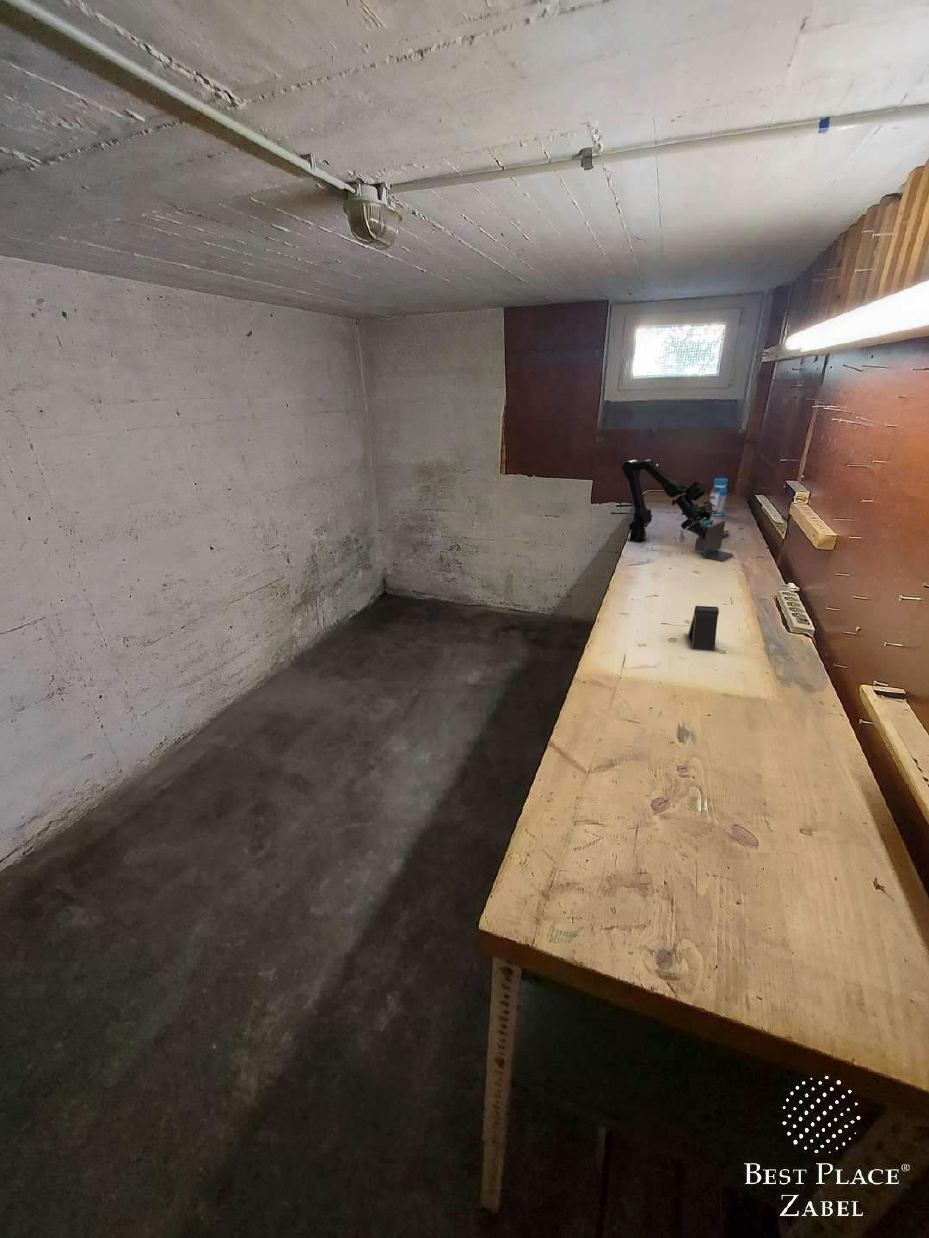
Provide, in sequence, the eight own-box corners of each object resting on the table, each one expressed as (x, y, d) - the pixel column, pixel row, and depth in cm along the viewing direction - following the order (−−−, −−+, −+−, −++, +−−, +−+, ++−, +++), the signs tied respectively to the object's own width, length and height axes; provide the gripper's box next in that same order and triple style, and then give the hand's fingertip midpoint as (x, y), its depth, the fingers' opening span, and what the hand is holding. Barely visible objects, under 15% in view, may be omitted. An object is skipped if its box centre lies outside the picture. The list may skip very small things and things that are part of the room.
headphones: (694, 550, 219) (699, 522, 214) (701, 546, 223) (706, 518, 218) (703, 552, 217) (708, 523, 211) (710, 548, 221) (715, 520, 215)
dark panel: (690, 556, 218) (696, 525, 211) (705, 549, 226) (710, 518, 219) (720, 562, 209) (726, 530, 202) (734, 555, 217) (740, 523, 210)
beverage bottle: (723, 516, 276) (730, 480, 267) (707, 515, 278) (713, 480, 270) (722, 512, 283) (728, 477, 274) (706, 512, 286) (712, 477, 277)
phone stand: (687, 635, 152) (693, 600, 147) (708, 636, 151) (715, 601, 146) (692, 648, 145) (698, 612, 139) (714, 650, 143) (721, 614, 138)
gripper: (692, 499, 207) (713, 529, 204) (712, 492, 218) (732, 520, 215) (672, 515, 216) (692, 543, 213) (692, 507, 227) (711, 534, 224)
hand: (707, 535), depth 216 cm, fingers closed on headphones, 7 cm apart
